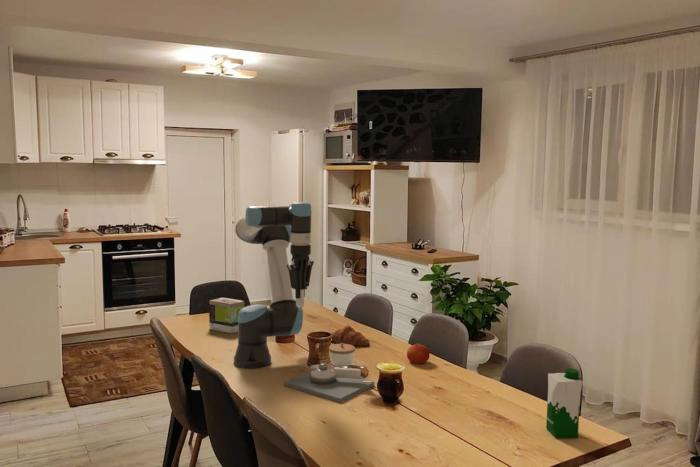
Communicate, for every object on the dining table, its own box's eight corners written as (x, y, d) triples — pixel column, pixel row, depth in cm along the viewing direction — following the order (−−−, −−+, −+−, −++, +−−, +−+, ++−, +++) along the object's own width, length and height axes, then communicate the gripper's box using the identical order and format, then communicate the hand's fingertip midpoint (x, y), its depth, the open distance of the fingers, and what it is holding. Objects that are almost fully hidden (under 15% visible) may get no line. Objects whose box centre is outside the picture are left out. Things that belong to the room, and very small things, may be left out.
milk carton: (582, 439, 181) (586, 375, 179) (553, 440, 180) (557, 375, 178) (569, 427, 189) (573, 365, 187) (541, 427, 189) (545, 366, 186)
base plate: (284, 385, 221) (284, 381, 220) (319, 370, 237) (319, 366, 237) (340, 402, 205) (340, 398, 205) (374, 385, 222) (374, 381, 222)
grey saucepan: (305, 382, 219) (305, 367, 218) (311, 373, 229) (311, 359, 228) (364, 387, 216) (365, 371, 215) (368, 377, 226) (368, 362, 225)
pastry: (360, 337, 287) (360, 321, 286) (370, 346, 272) (370, 329, 271) (326, 339, 282) (326, 323, 281) (334, 349, 267) (334, 331, 266)
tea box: (245, 329, 296) (245, 300, 294) (230, 334, 287) (230, 304, 286) (223, 325, 304) (222, 296, 302) (208, 329, 295) (208, 299, 294)
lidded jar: (352, 371, 238) (352, 348, 237) (325, 368, 240) (326, 346, 239) (357, 362, 248) (357, 340, 247) (331, 360, 250) (332, 338, 249)
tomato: (403, 363, 249) (403, 344, 248) (411, 357, 257) (412, 339, 256) (424, 367, 244) (425, 348, 244) (432, 361, 253) (432, 342, 252)
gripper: (296, 246, 214) (296, 311, 217) (319, 243, 225) (318, 304, 227) (281, 244, 219) (280, 307, 221) (304, 241, 229) (303, 301, 232)
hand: (300, 306), depth 224 cm, fingers closed
